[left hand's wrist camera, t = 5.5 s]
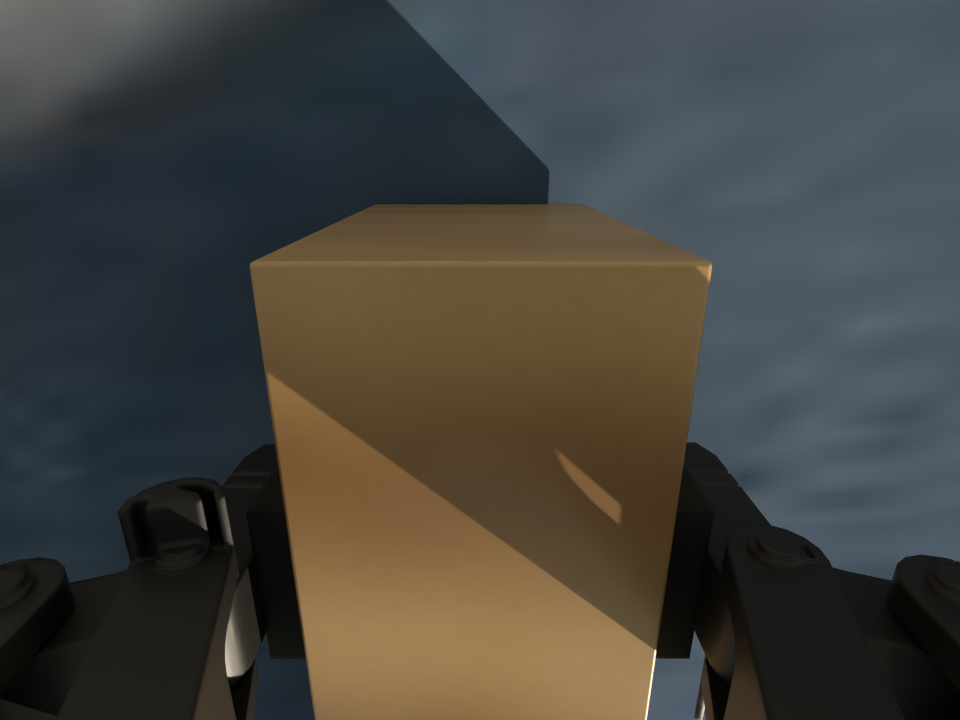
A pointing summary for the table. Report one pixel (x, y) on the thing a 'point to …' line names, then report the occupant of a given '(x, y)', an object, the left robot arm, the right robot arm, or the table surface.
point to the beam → (480, 455)
